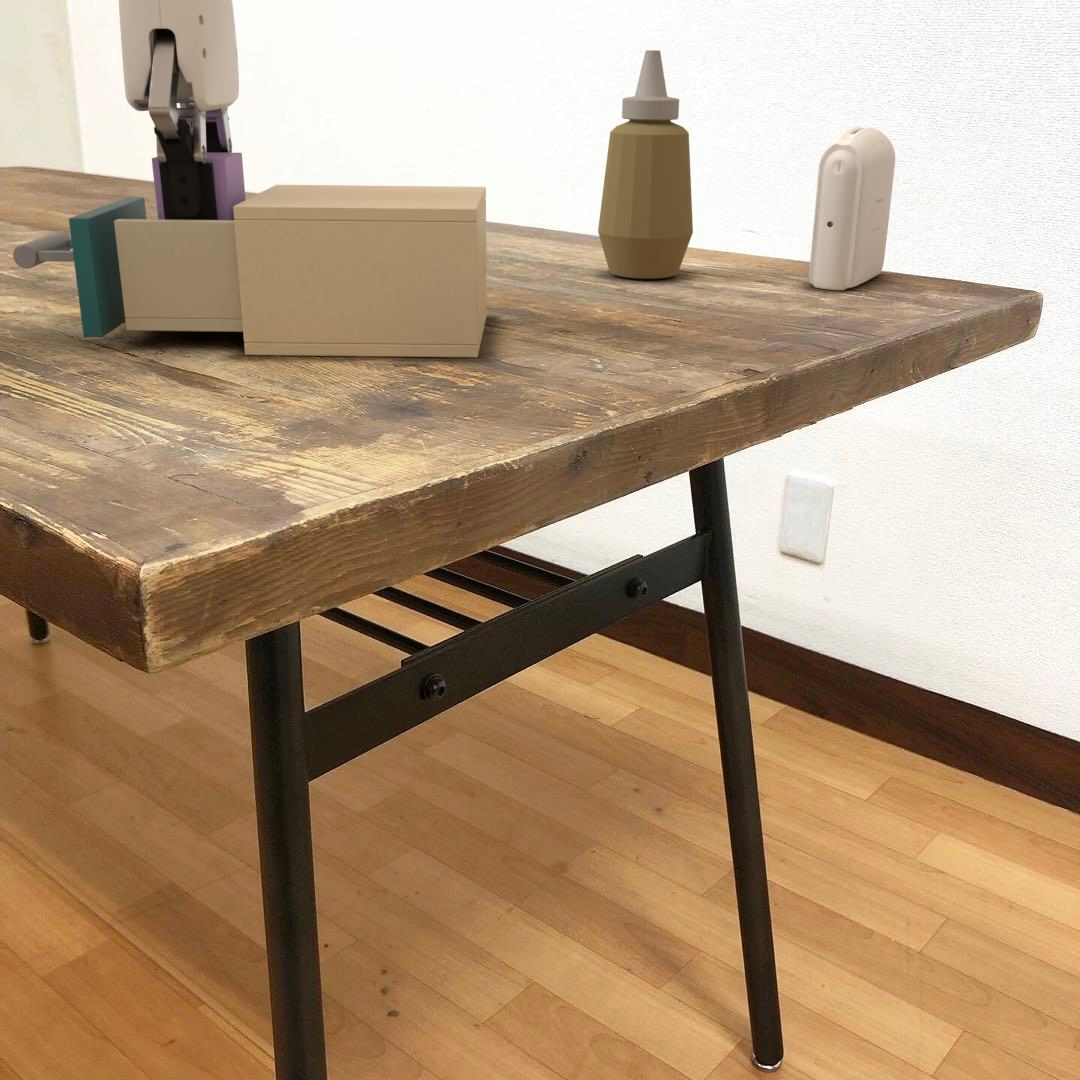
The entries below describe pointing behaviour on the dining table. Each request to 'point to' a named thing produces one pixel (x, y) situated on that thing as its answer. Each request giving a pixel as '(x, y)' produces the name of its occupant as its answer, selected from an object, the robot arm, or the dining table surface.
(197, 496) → the dining table surface
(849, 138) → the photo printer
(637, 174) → the squeeze bottle
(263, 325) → the drawer cabinet
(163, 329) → the drawer
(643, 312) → the dining table surface
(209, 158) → the lavender foam cube
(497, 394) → the dining table surface
